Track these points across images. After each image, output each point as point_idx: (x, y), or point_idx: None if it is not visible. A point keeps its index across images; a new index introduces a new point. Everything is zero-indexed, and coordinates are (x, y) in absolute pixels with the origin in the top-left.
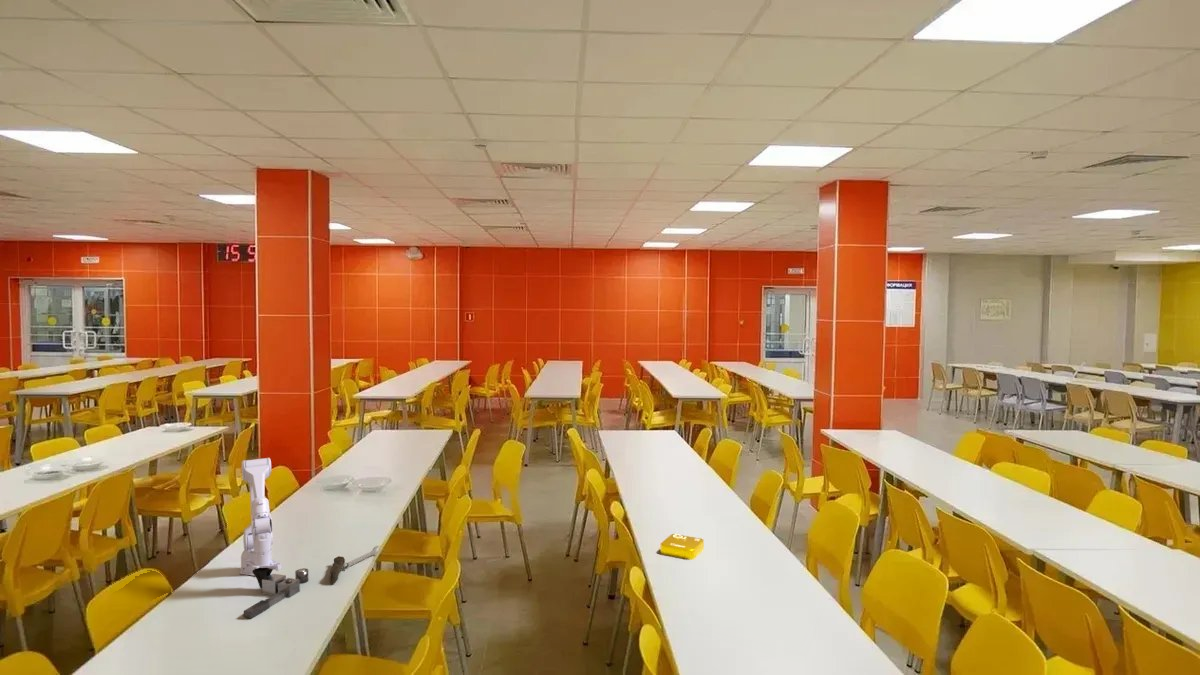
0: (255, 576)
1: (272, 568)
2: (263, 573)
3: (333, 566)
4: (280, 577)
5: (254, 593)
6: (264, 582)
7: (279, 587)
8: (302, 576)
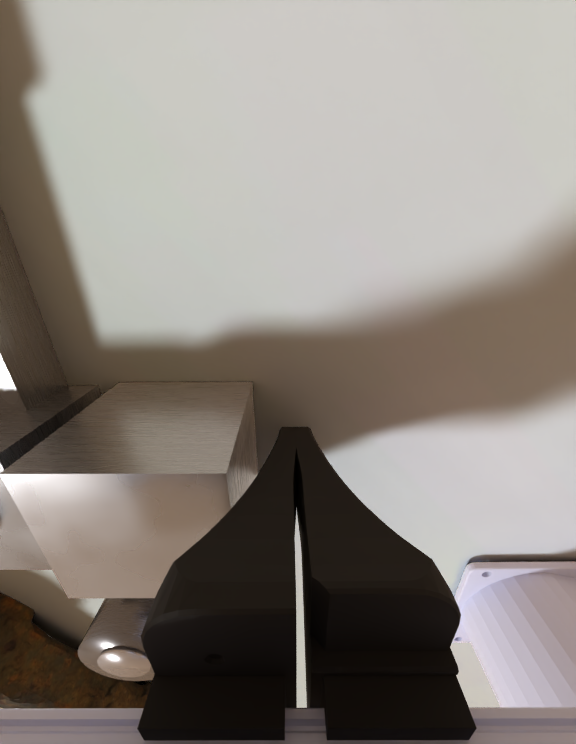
0: (364, 506)
1: (46, 729)
2: (168, 573)
3: (43, 708)
4: (61, 557)
5: (322, 370)
6: (196, 448)
7: (10, 428)
8: (102, 607)
